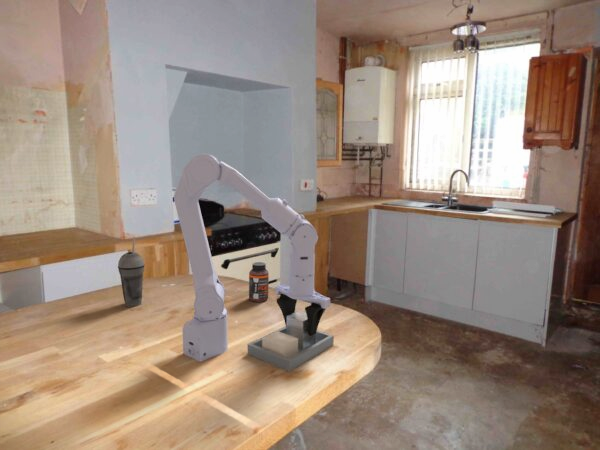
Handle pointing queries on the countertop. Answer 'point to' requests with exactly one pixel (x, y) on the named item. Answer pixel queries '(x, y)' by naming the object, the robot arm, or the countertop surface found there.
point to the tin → (299, 329)
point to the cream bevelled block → (281, 344)
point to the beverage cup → (131, 277)
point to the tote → (287, 364)
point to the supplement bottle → (258, 282)
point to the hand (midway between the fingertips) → (300, 330)
